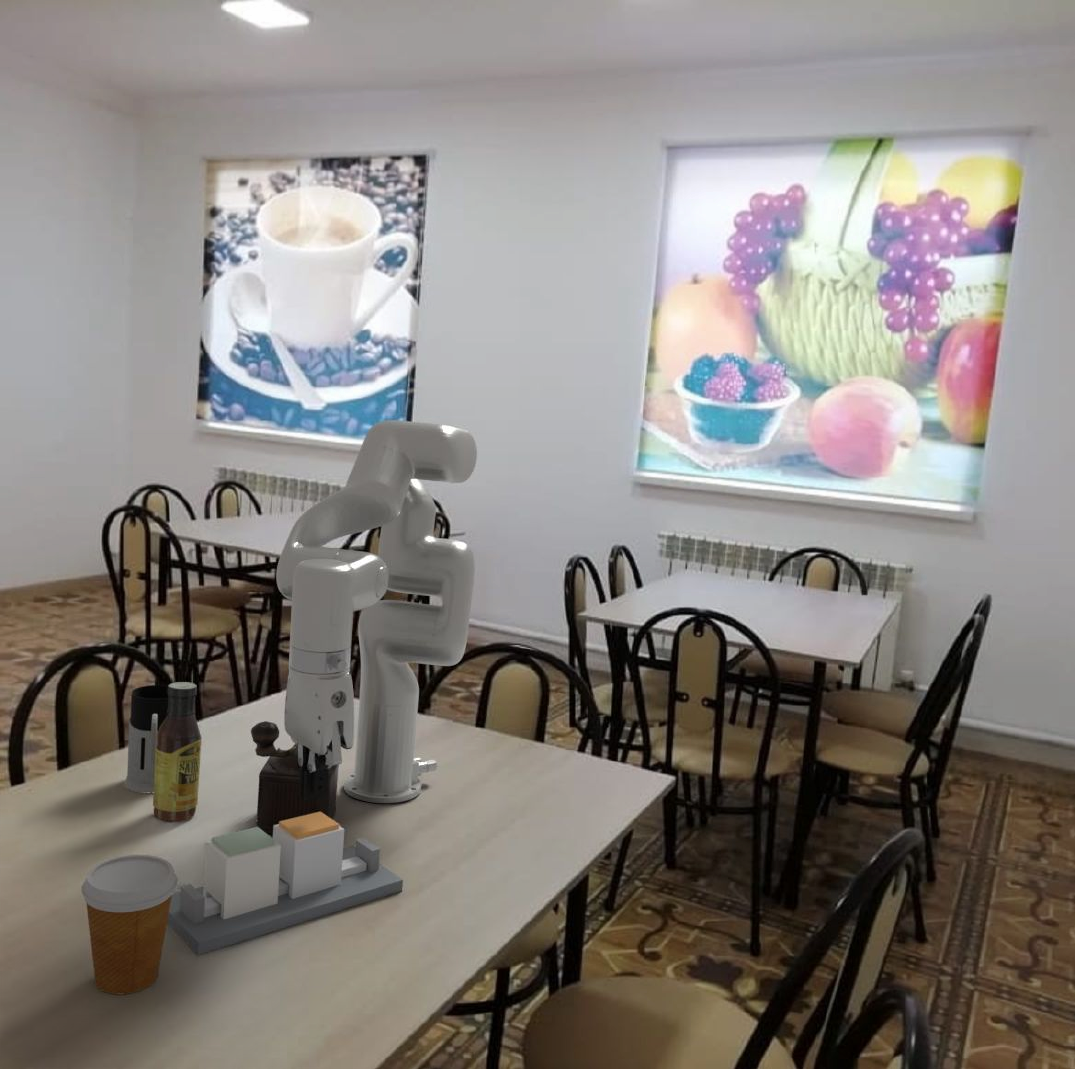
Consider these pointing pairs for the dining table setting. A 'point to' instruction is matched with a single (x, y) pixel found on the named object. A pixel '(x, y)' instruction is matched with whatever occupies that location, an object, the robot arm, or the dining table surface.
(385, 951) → the dining table surface
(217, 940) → the rail board
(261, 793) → the pepper mill
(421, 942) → the dining table surface
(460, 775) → the dining table surface
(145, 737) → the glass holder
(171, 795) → the sauce bottle
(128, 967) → the disposable coffee cup
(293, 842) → the module
